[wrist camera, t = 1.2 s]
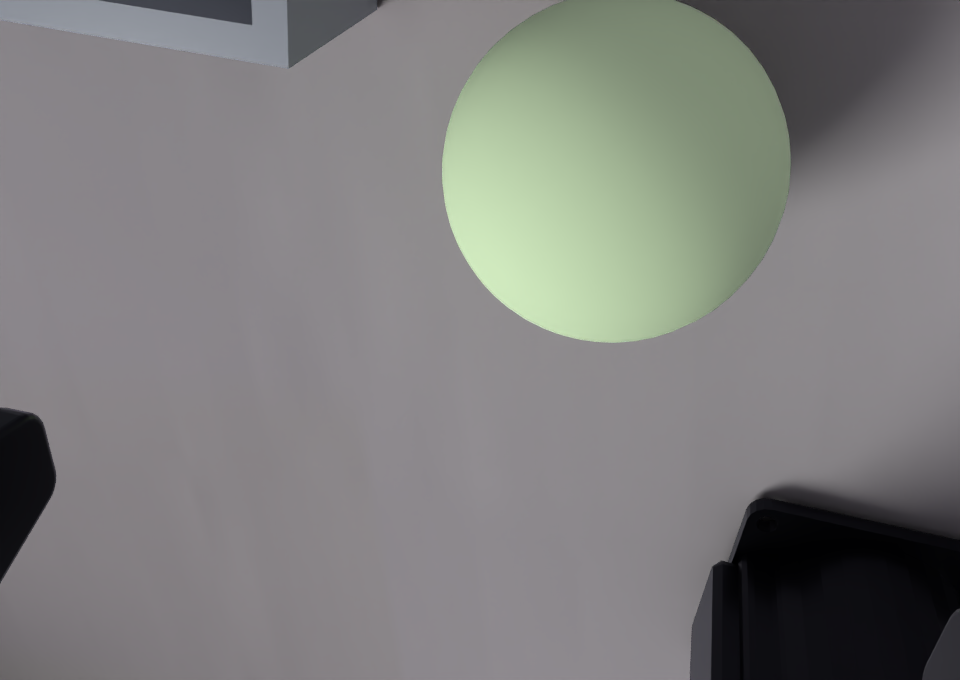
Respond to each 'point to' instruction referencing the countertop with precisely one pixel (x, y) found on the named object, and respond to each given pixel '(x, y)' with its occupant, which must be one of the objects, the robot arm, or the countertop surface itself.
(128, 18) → the bin
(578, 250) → the ball
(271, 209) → the countertop surface
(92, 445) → the countertop surface
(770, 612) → the robot arm
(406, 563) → the countertop surface
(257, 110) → the countertop surface
